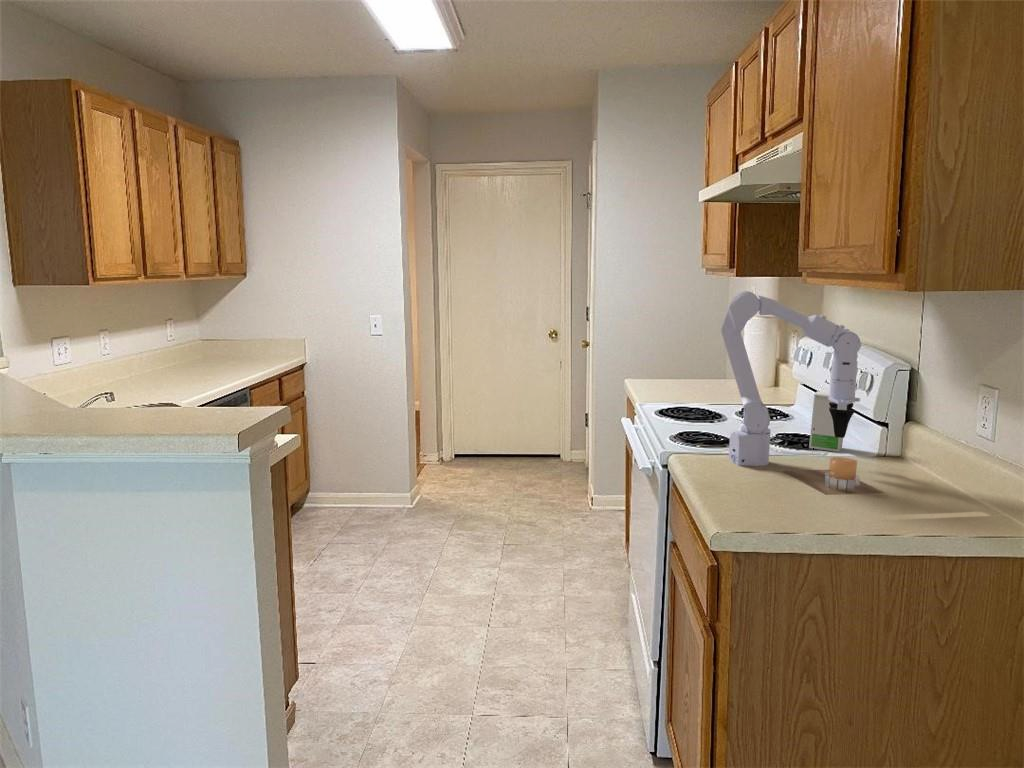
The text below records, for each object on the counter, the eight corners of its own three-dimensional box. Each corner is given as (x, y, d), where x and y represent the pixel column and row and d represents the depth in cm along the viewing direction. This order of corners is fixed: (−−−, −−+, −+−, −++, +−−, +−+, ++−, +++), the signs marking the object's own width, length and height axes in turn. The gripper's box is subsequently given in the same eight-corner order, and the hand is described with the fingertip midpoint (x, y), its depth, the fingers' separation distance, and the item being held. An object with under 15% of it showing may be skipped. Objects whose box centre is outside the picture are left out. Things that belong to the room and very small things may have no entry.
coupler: (855, 490, 171) (857, 464, 170) (828, 487, 173) (830, 461, 172) (854, 484, 176) (856, 458, 175) (828, 481, 178) (830, 456, 177)
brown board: (825, 497, 168) (825, 494, 168) (781, 474, 188) (781, 470, 188) (884, 495, 170) (884, 492, 170) (835, 472, 190) (835, 469, 190)
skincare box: (808, 448, 215) (812, 393, 213) (812, 444, 221) (815, 390, 218) (840, 452, 211) (845, 396, 209) (843, 447, 217) (847, 393, 214)
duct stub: (835, 491, 170) (836, 480, 170) (818, 482, 177) (819, 472, 177) (865, 490, 171) (866, 479, 171) (847, 481, 178) (848, 471, 178)
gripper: (862, 384, 179) (858, 441, 181) (860, 376, 193) (856, 430, 195) (829, 382, 182) (825, 438, 184) (829, 375, 195) (826, 427, 197)
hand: (839, 434), depth 189 cm, fingers open, 7 cm apart
